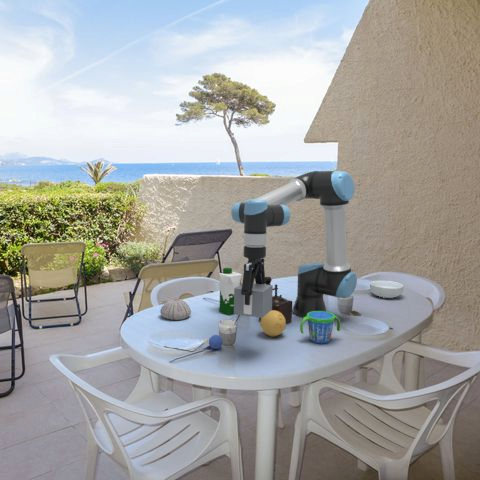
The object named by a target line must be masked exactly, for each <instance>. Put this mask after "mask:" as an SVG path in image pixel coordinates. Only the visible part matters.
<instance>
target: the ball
mask: <svg viewBox="0 0 480 480" xmlns="http://www.w3.org/2000/svg"><path fill="white" fill-rule="evenodd" d="M223 343H224V339H223V338H222V337H221V336H220V335H219V334H213V335H211V336H210V338H209V339H208V345H209V346H210V348H212V349H213V350H219V349H220V348H221V347H222V346H223Z"/></svg>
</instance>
